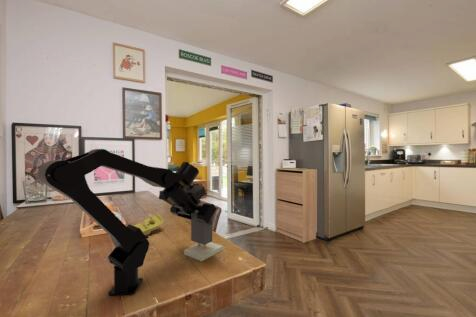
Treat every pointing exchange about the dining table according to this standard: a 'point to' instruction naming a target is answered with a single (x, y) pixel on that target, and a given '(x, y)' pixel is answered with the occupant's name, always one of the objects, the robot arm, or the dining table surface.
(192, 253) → the board
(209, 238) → the block
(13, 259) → the dining table surface
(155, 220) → the plastic component
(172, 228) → the dining table surface
